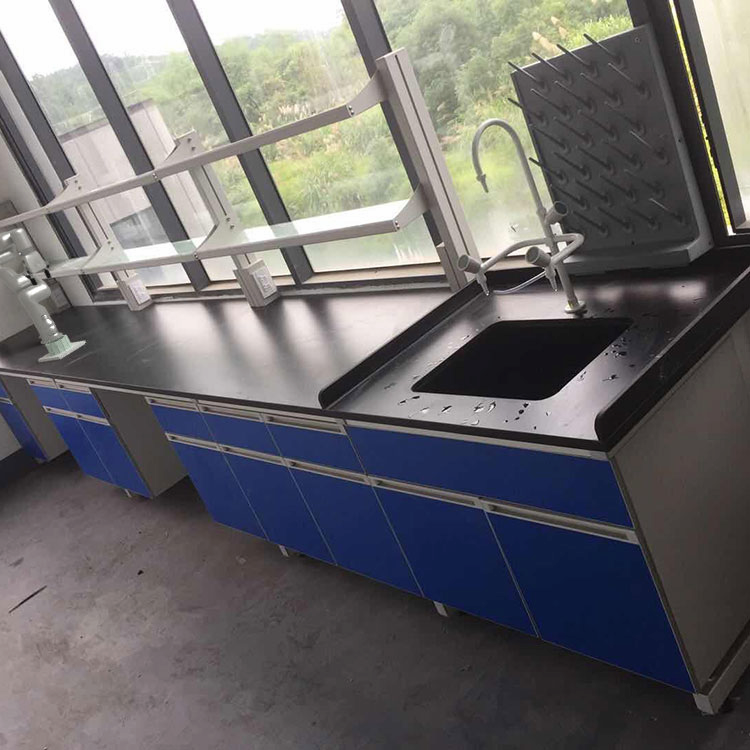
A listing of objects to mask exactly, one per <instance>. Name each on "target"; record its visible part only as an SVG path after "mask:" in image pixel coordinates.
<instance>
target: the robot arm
mask: <svg viewBox="0 0 750 750" xmlns="http://www.w3.org/2000/svg"><path fill="white" fill-rule="evenodd" d="M17 251H18V253H17ZM17 256H20V260H21V263H22V266H23V268H24V269H23V271H22V272H21V273H17V272H16V271H15V270H13V268H11V267H6V266H3V265H6V264H8V263H11V262H13V261H15V260H16V258H17ZM49 262H50V261H49V260H44V259H43V258H42V256H41V254H40V253H39V252H38V251H37V250H35V248H34V247H33V244H32V242H31V241H30V239H29V237H28V234H27V232H26V230H25V229H24V228H22V227H20V228H14V229H11V230H9V231H3V232H0V281H2V282H3V283H4V284H5V286H6V287H8V288H9V289H10V290H11V291H12V292H14V293H15V294H17V298H18V300H19V302H20V303H21V305H22V306H23V308H24V309H25V310H26V312H27V313H28V315H29V317H30V319H31V321H32V323H33V325H34V326H35V329H36V330H37V332H38V334H39V336H38V339H41V341H40V345H45V344H46V343H47V342H49V341H50V338H49V336H48V335H47V333H46V332H45V331H44V329H43V328H42V320H41V318H40V316H42V315H44V314H47V315H48V318H49V319H51V320H53V319H52V317H51V316H50V313H49V312H48V310H47V308H46V307H45V306H44V305H42V304H40V303H39V302H41V301H44V300H46V299H47V298H49V297H51V294H52V290H51V288H50V287H49V285H48V284H47V283H46V281H44V280H43V279H42V278H41V277H40V276H39V275H38V274H37V273H38V272H40V271H43V272H44V275H45V277H46V278H47V279H52V275H51V272H50V263H49ZM58 333H59V335H60V336H62V335H64V334H63V333H62V332H59V331H58Z"/></svg>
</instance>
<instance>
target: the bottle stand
mask: <svg viewBox="0 0 750 750" xmlns="http://www.w3.org/2000/svg"><path fill="white" fill-rule="evenodd" d="M61 338H62V339H60V340H58V341H56V342H54V343H51V341H49V342H47V343H46V344H44V346H45V348H46V349H47V351H48V353H47V354H45V355H43V356H42V357H40V358H38V359H37V361H38V363H43V362H44V363H45V362H51V361H52V362H53V361H58V360H62V359H63V358H65V357H66V356H68V355H70V354H71V353H73V352H74V351H76V350H78V349H79V348H81V347H82V346H84V345H86V344H87V342H86V340H80V341H74V342H71V340H70V339H69V337H68V335H67V334H63V335H62V336H61ZM85 343H86V344H85Z"/></svg>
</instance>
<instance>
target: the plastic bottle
mask: <svg viewBox="0 0 750 750" xmlns="http://www.w3.org/2000/svg"><path fill="white" fill-rule="evenodd" d="M40 318H41V320H42V328H43V329H44V331H45V332H46V333H47V335H48V336H49V338H50V341H51V343H54V342H56V341H58V340H60V339H62V338H61V336H60V335H59V333H60V332H59V330H58V328H57V325H56V323H55V321H54V320H53V319H52V318H51V319H52V320H51V319H49V318H48V315H47V314H44V315H42V316H40ZM58 332H59V333H58Z"/></svg>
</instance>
